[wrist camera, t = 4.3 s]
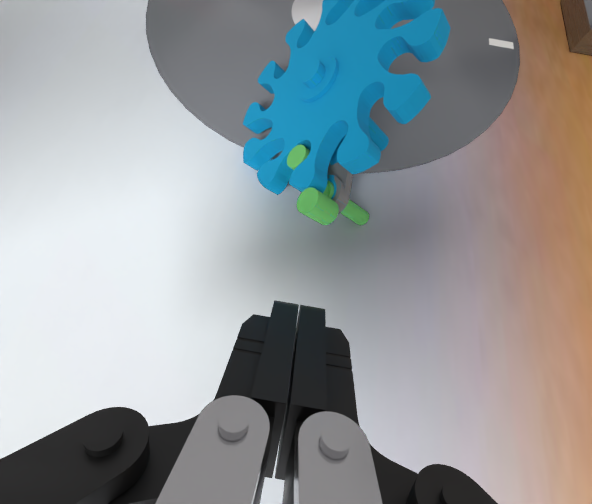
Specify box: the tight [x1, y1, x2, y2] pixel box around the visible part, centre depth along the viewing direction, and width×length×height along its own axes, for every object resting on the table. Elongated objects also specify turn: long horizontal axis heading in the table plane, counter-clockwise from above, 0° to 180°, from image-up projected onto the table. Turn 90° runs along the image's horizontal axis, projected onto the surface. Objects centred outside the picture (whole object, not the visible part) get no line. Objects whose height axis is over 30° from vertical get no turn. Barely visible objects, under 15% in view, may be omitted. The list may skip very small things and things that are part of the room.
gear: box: [243, 0, 451, 225], centre depth 15 cm, size 11×6×10 cm
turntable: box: [146, 0, 520, 173], centre depth 22 cm, size 24×24×1 cm
